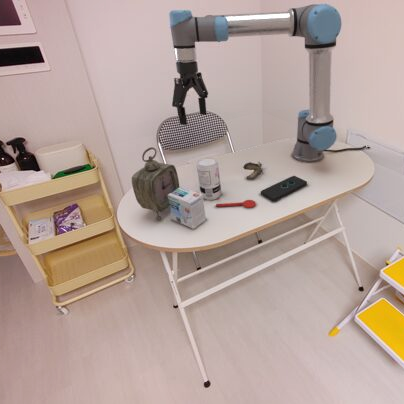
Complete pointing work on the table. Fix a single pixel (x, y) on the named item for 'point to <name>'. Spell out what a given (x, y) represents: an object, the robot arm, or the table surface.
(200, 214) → the light bulb box
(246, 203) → the red spoon
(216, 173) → the supplement can
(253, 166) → the eagle figurine
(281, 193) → the smart home device
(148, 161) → the tabletop clock
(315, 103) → the robot arm
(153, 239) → the table surface
